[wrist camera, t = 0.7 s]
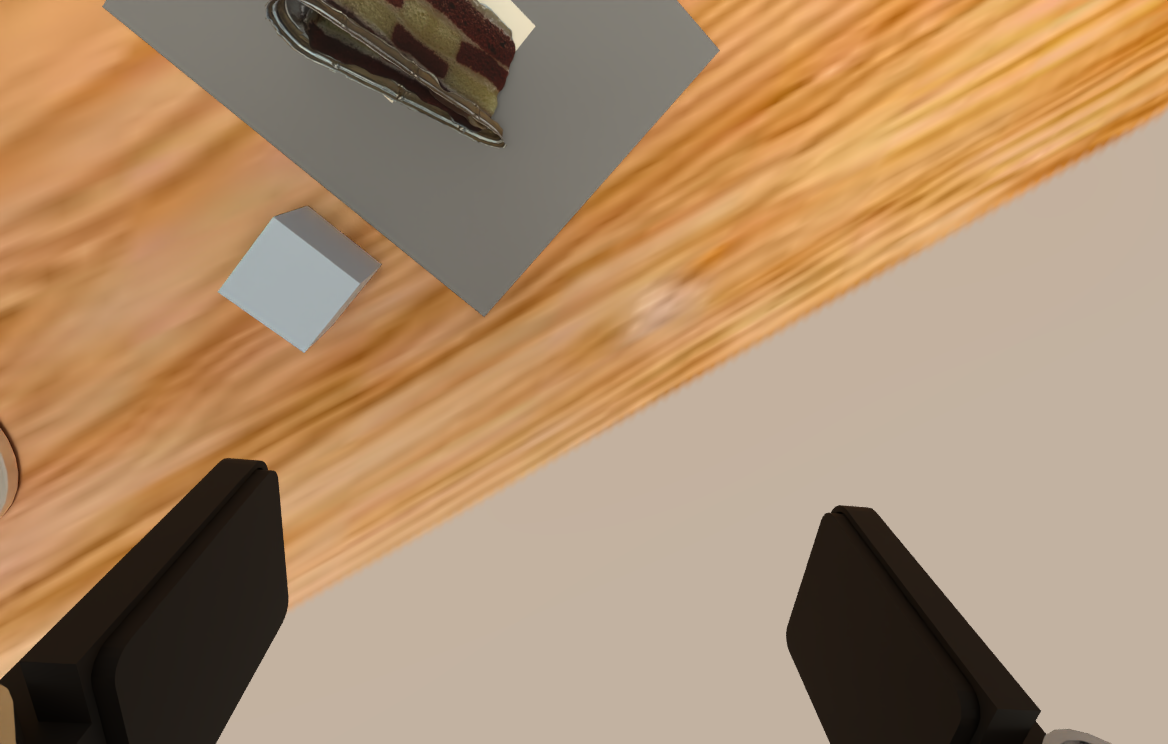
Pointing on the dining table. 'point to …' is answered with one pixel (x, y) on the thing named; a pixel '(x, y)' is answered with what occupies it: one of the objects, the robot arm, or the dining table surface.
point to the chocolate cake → (410, 53)
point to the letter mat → (437, 152)
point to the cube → (299, 276)
